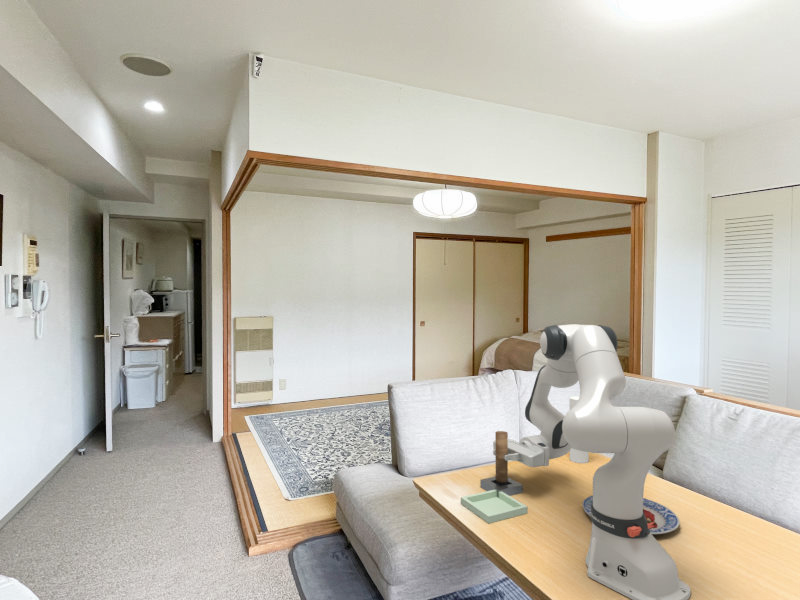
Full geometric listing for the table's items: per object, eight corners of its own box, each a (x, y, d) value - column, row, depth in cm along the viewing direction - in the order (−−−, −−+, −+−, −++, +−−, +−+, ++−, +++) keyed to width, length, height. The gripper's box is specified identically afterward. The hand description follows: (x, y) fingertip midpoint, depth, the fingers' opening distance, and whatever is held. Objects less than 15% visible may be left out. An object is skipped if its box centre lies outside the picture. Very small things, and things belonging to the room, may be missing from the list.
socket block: (522, 493, 154) (522, 484, 154) (498, 499, 150) (498, 490, 150) (503, 483, 163) (503, 474, 163) (480, 488, 159) (480, 479, 159)
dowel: (510, 481, 155) (510, 433, 155) (500, 483, 153) (500, 435, 154) (502, 477, 159) (502, 430, 159) (493, 479, 157) (493, 431, 157)
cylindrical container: (585, 464, 181) (585, 400, 181) (567, 460, 186) (567, 398, 185) (590, 459, 187) (590, 397, 187) (572, 455, 191) (572, 395, 191)
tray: (527, 514, 139) (527, 506, 139) (488, 525, 133) (488, 516, 133) (497, 496, 152) (497, 488, 152) (460, 505, 146) (460, 497, 146)
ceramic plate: (695, 545, 122) (695, 534, 122) (592, 536, 127) (592, 525, 127) (660, 503, 148) (660, 494, 148) (575, 496, 153) (575, 487, 153)
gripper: (511, 433, 171) (480, 438, 165) (552, 448, 153) (519, 454, 147) (511, 450, 171) (481, 455, 165) (552, 467, 153) (519, 474, 147)
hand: (499, 455), depth 156 cm, fingers closed on dowel, 4 cm apart
